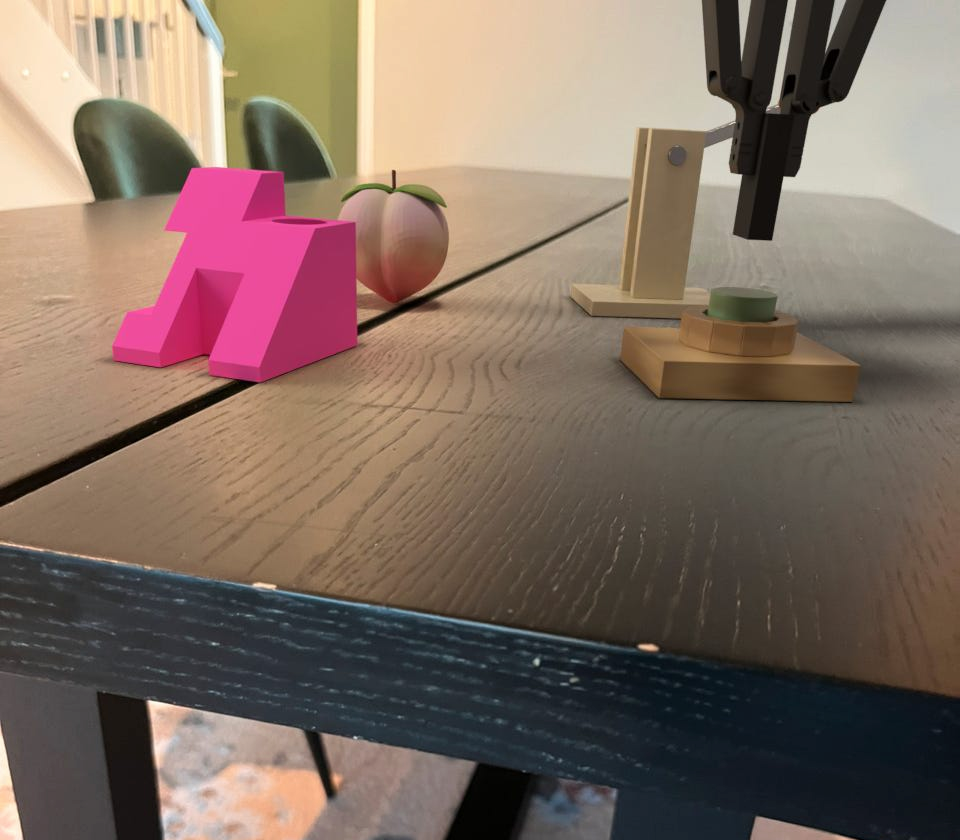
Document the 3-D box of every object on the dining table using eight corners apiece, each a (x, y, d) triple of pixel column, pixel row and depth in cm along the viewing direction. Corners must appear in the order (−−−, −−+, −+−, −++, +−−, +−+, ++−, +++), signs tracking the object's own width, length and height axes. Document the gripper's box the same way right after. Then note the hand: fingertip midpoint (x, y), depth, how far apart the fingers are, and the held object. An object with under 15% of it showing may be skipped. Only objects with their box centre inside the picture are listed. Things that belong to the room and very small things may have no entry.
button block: (789, 363, 67) (801, 303, 65) (853, 402, 58) (868, 333, 57) (619, 359, 66) (626, 298, 64) (658, 398, 57) (668, 328, 55)
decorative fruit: (461, 300, 84) (466, 171, 79) (434, 315, 77) (437, 175, 72) (358, 290, 86) (357, 164, 81) (322, 305, 79) (318, 167, 74)
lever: (796, 116, 81) (791, 85, 80) (823, 117, 76) (819, 83, 75) (646, 173, 82) (639, 143, 81) (663, 178, 77) (656, 145, 76)
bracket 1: (227, 327, 69) (215, 167, 64) (357, 345, 66) (355, 177, 61) (113, 360, 59) (89, 172, 54) (260, 382, 56) (247, 185, 51)
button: (758, 316, 62) (763, 287, 62) (782, 329, 59) (787, 298, 58) (698, 314, 62) (702, 286, 61) (718, 327, 58) (723, 296, 58)
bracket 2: (699, 301, 89) (724, 131, 83) (732, 320, 81) (762, 134, 75) (570, 297, 88) (585, 124, 81) (591, 316, 80) (609, 126, 73)
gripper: (929, -251, 51) (829, 235, 62) (687, -276, 49) (630, 226, 61) (1012, -304, 44) (884, 250, 56) (737, -335, 43) (662, 240, 54)
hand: (752, 237), depth 58 cm, fingers closed
